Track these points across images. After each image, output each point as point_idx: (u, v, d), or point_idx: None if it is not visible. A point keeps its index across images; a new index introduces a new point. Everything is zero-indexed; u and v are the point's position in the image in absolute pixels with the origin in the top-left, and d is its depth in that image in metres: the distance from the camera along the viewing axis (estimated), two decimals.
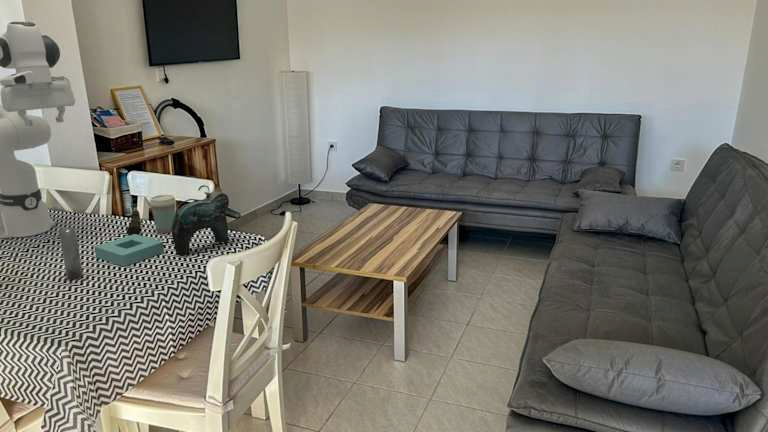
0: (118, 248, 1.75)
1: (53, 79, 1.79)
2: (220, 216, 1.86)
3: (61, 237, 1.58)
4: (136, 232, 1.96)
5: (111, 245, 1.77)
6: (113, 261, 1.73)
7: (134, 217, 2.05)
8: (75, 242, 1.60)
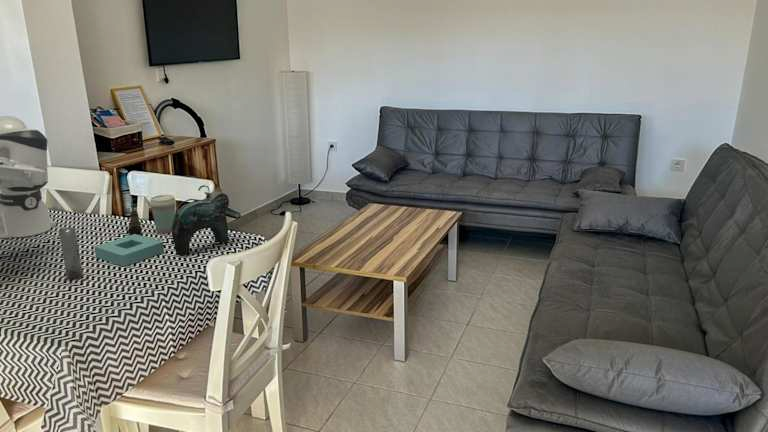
0: (118, 248, 1.75)
1: None
2: (220, 216, 1.86)
3: (61, 237, 1.58)
4: (137, 232, 1.97)
5: (111, 245, 1.77)
6: (113, 261, 1.73)
7: (133, 217, 2.05)
8: (75, 242, 1.60)
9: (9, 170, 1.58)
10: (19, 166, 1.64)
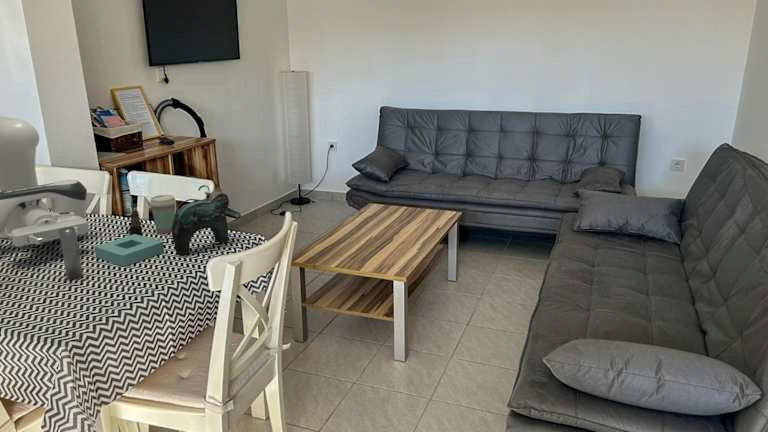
0: (118, 248, 1.75)
1: None
2: (220, 216, 1.86)
3: (61, 237, 1.58)
4: (138, 232, 1.97)
5: (111, 245, 1.77)
6: (113, 261, 1.73)
7: (134, 217, 2.05)
8: (75, 242, 1.60)
9: (56, 230, 1.74)
10: (62, 219, 1.79)
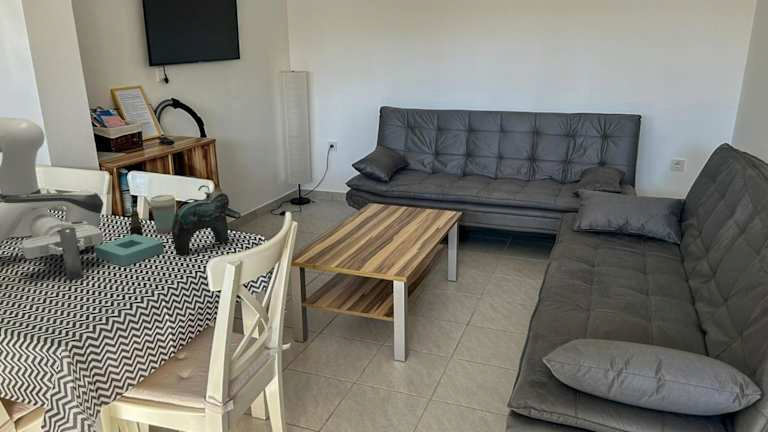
0: (118, 248, 1.75)
1: None
2: (220, 216, 1.86)
3: (61, 237, 1.58)
4: (139, 231, 1.97)
5: (111, 245, 1.77)
6: (113, 261, 1.73)
7: (134, 217, 2.05)
8: (75, 242, 1.60)
9: None
10: None
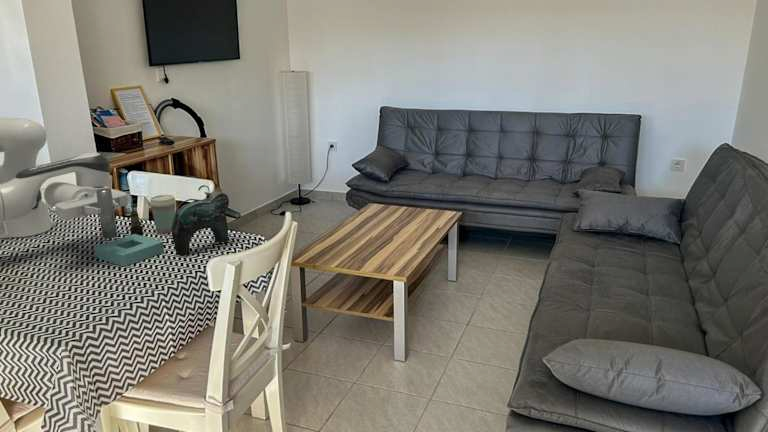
0: (118, 248, 1.75)
1: None
2: (220, 216, 1.86)
3: (99, 197, 1.66)
4: (139, 231, 1.97)
5: (111, 245, 1.77)
6: (113, 261, 1.73)
7: (134, 217, 2.05)
8: (112, 202, 1.68)
9: None
10: None
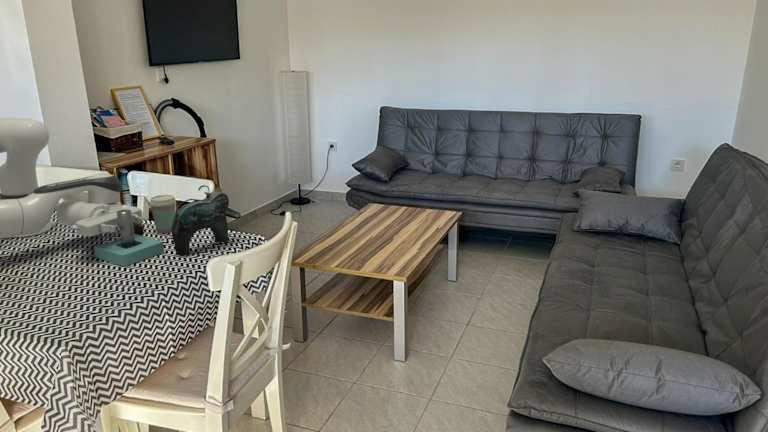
0: (118, 248, 1.75)
1: None
2: (220, 216, 1.86)
3: (121, 218, 1.74)
4: (140, 231, 1.97)
5: (111, 245, 1.77)
6: (113, 261, 1.73)
7: None
8: (132, 222, 1.77)
9: None
10: (114, 208, 1.84)
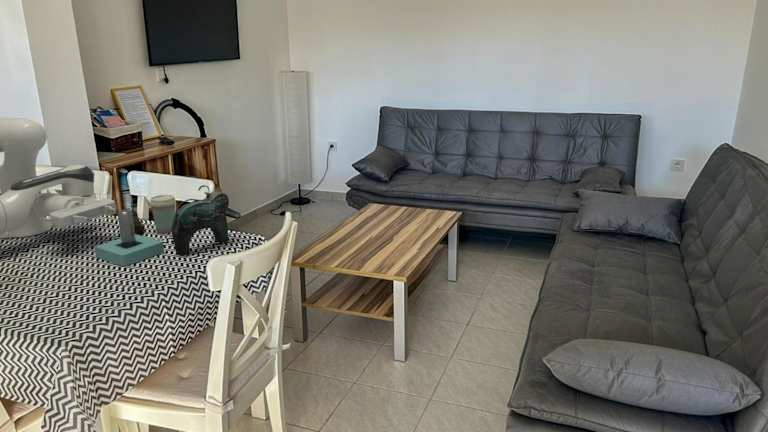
0: (118, 248, 1.75)
1: None
2: (220, 216, 1.86)
3: (122, 218, 1.74)
4: (141, 231, 1.97)
5: (111, 245, 1.77)
6: (113, 261, 1.73)
7: (134, 217, 2.05)
8: (133, 223, 1.77)
9: (92, 210, 1.84)
10: (88, 201, 1.89)
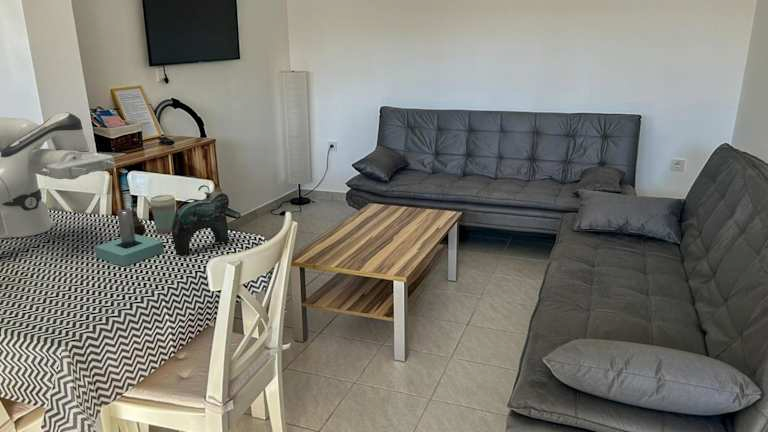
0: (118, 248, 1.75)
1: None
2: (220, 216, 1.86)
3: (121, 218, 1.74)
4: (141, 231, 1.97)
5: (111, 245, 1.77)
6: (113, 261, 1.73)
7: (133, 217, 2.05)
8: (132, 222, 1.77)
9: (90, 164, 1.79)
10: (86, 155, 1.84)
